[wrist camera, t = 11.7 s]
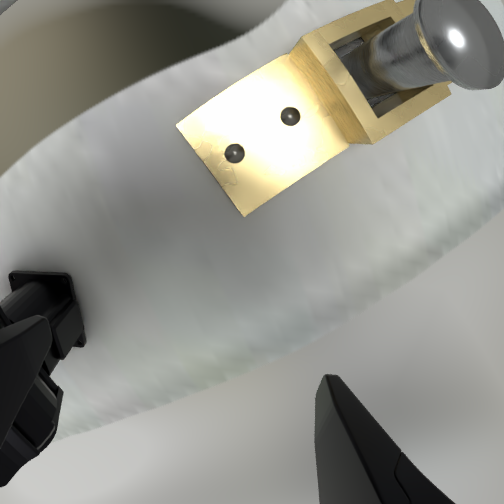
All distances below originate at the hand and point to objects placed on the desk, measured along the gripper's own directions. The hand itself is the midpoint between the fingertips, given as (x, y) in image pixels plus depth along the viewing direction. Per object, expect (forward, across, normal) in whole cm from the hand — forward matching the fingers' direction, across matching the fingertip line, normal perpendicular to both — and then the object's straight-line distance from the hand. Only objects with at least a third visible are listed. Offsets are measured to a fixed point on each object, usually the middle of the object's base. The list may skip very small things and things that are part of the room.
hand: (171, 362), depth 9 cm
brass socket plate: (+14, -7, -11) cm, 19 cm away
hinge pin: (+14, -7, -11) cm, 19 cm away
